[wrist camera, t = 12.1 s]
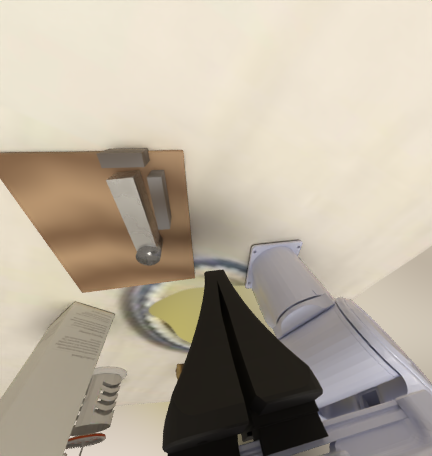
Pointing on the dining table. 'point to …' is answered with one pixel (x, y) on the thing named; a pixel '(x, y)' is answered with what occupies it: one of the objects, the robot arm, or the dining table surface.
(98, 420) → the french press
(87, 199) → the lock board
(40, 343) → the skincare box
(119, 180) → the swing bar
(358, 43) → the dining table surface
